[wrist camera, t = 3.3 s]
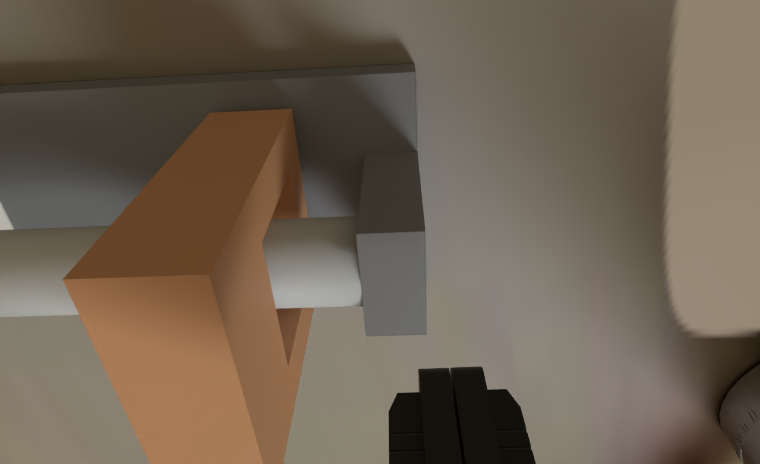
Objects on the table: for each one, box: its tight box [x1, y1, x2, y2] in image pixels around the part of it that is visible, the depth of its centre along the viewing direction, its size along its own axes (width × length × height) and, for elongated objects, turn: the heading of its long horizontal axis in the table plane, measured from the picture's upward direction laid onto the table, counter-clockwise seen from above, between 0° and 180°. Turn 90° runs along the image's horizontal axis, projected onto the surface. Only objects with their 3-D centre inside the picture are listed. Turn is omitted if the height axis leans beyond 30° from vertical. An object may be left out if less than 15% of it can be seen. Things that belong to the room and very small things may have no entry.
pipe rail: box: [0, 63, 427, 336], centre depth 20 cm, size 24×10×7 cm, turn 93°
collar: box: [62, 109, 314, 464], centre depth 17 cm, size 3×8×10 cm, turn 3°
